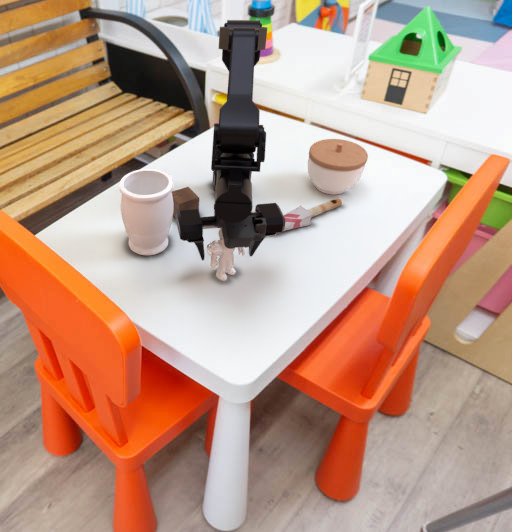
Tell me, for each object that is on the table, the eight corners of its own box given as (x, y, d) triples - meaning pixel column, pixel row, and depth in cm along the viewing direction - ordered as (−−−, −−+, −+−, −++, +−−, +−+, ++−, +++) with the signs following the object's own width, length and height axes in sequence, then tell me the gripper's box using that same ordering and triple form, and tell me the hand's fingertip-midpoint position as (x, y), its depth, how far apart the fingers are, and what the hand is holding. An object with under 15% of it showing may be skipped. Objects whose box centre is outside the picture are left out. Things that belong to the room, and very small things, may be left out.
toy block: (187, 205, 121) (188, 186, 118) (198, 216, 117) (199, 197, 114) (168, 210, 119) (168, 192, 116) (178, 222, 116) (179, 203, 113)
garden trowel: (266, 218, 111) (334, 192, 119) (264, 229, 112) (331, 203, 120) (278, 227, 108) (347, 200, 116) (276, 238, 110) (344, 211, 118)
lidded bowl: (331, 167, 131) (341, 126, 124) (370, 191, 122) (382, 148, 115) (291, 181, 127) (299, 139, 119) (329, 207, 118) (339, 164, 111)
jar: (145, 222, 116) (142, 162, 106) (183, 240, 111) (184, 178, 101) (113, 247, 110) (107, 185, 100) (152, 266, 105) (150, 204, 95)
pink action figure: (234, 259, 106) (239, 210, 98) (248, 269, 104) (255, 219, 96) (200, 278, 102) (203, 228, 94) (214, 289, 100) (218, 239, 92)
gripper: (185, 219, 83) (184, 290, 94) (301, 209, 84) (287, 281, 94) (176, 181, 92) (175, 250, 102) (281, 173, 93) (270, 242, 103)
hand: (226, 257), depth 100 cm, fingers open, 9 cm apart
